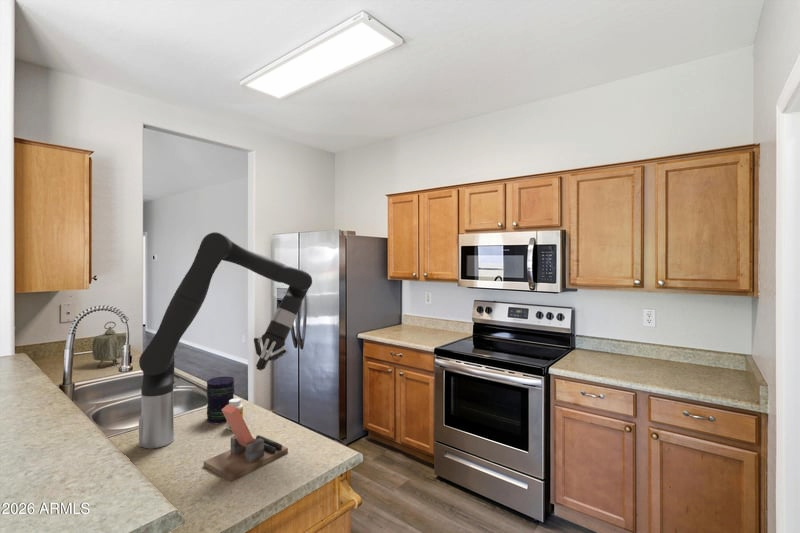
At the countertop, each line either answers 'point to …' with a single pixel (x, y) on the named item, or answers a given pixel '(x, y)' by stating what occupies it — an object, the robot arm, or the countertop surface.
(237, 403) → the supplement bottle
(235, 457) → the switch board
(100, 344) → the tabletop clock
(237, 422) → the lever
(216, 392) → the storage jar
